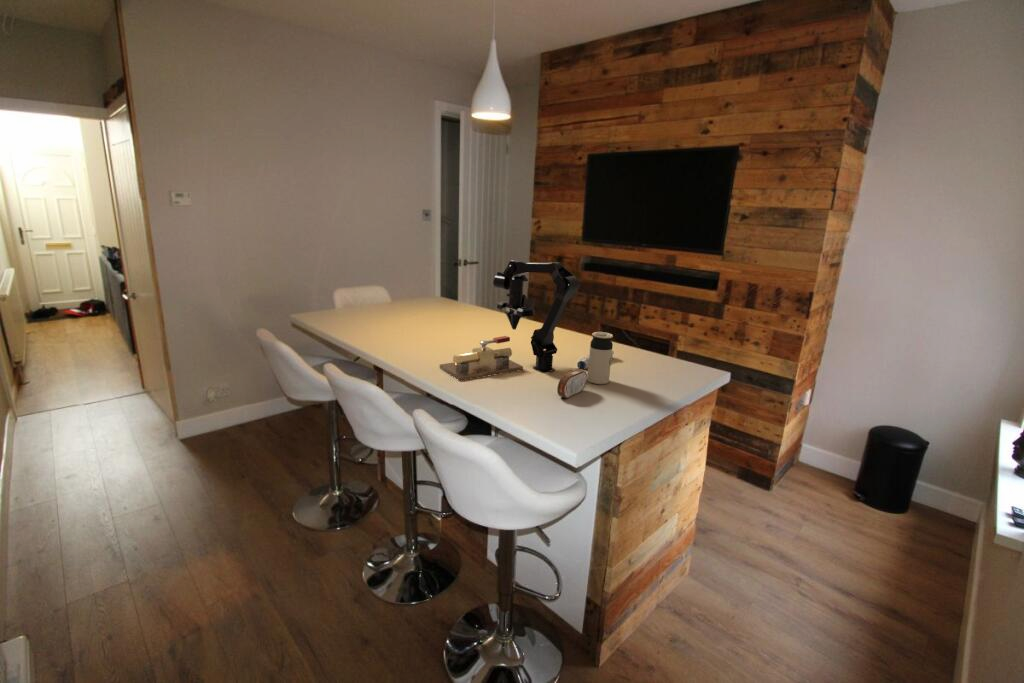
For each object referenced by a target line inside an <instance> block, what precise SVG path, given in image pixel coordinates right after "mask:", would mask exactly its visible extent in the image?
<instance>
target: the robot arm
mask: <svg viewBox="0 0 1024 683" xmlns="http://www.w3.org/2000/svg"><path fill="white" fill-rule="evenodd" d="M529 273H538V274H539V273H540V274H541V273H544V274H547V273H549V275H551V279H552V280H551V281H552V282H553V283H554V285H555V288H554V290H555V291H554V292H555V298H554V299H553V302H552V304H551V306H550V309H549V310H548V313H547V315H546V317H545V319H544V322H543V324H542V326H541V327H540V328H536V329H534V330H533V332H532V335H531V337H530V339H531V340H530V345H531V350H532V353H533V356H536V358H535V366H532V369H534V370H537V371H539V372H541V373H547V372H548V373H549V372H553V371H554V372H555V371H556V369H555V368H553V363H554V362H553V361H554V355H555V354H557V352H558V348H557V346H556V344H555V343H554V339H555V335H554V331H555V329H556V327H557V325H558V323H559V321H560V318H562V314H563V312H564V310H565V308H566V306H567V304H568V303H569V301H570V300H571V299H572V298H573V297H574V296H575V295H576V293H577V291H578V290H579V289H580V286H581V283H580V280H579V278H578V277H576V276H575V275H574V274H573V273H572V272H571V271H570V270H568V269H567V268H566V267H565V266H564V265H563V264H562V263H561V262H559V261H555V262H531V261H529V260H525V259H513V260H509V262H508V263H507V266H506V268H505V270H504V271H497V273H496V275H495V276H494V278H493V281H492V284H493V287H494V288H496V289H499V290H500V289H501V290H505V291H508V292H507V293H506V297H508V300H503V301H502V300H501V301H498V302H497V304H496V309H498V310H502V309H504V308H505V311H504V313H505V315H506V317H507V320H508V321H509V324H510V327H511V329H512V330H517V327H518V325H519V323H520V320H521V318H524V317H527V318H528V317H534V316H535V309H534V305H535V303H536V301H534V300H531V299H529V298H528V297H527V296H526V294H524V285H525V284H524V282H529V279H528V278H527V277H526V275H525V274H529ZM519 275H520V276H519Z"/></svg>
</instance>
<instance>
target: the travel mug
mask: <svg viewBox="0 0 1024 683" xmlns="http://www.w3.org/2000/svg"><path fill="white" fill-rule="evenodd" d="M591 335H592V339H591V341H590V346H589V355H588V356H589V365H588V368H587V379H586V381H588V382H589V383H592V384H594V385H606V384H608V383H610V382H609V381H610V372H611V364H612V359H611V356H612V351H613V345H614V344H613V341H612V339H613V337H614V336H613V334H612V333H609V332H604V331H595V332H593V333H591Z"/></svg>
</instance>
